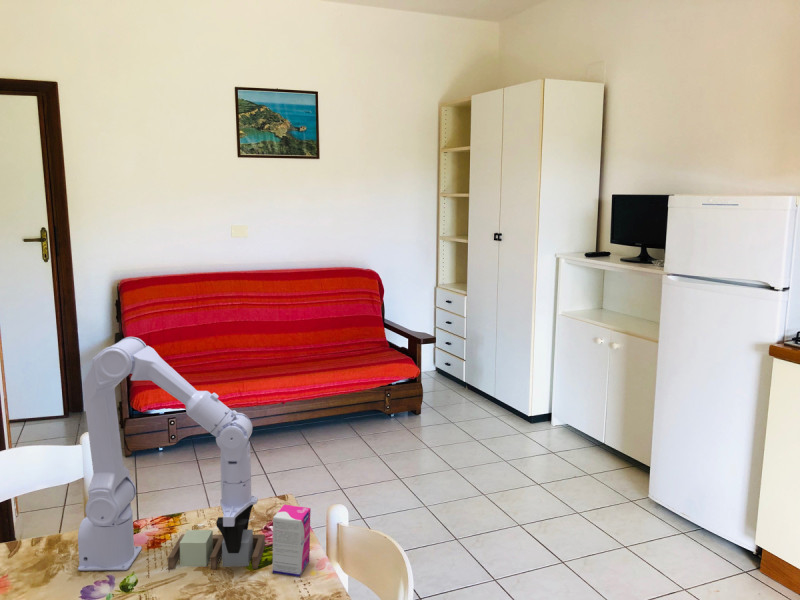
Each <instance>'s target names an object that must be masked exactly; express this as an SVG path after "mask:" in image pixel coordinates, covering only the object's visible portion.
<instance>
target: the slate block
mask: <svg viewBox="0 0 800 600" xmlns="http://www.w3.org/2000/svg"><path fill="white" fill-rule="evenodd" d="M253 532H254V531H253V529H252V528H251V529H250V528H249V529H247V530H243V534H242V541H241V547H240V551H239V553H228V551H227V548H226V544H225V541H224V539H223V542H222V556H221V558H222V559H221V560H222V561H221V562H222V567H249V566H250V563H251V561H252V556H253V553H254V550H253V534H254V533H253Z"/></svg>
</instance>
